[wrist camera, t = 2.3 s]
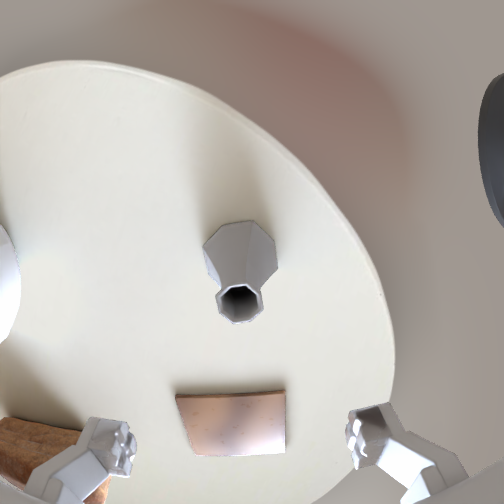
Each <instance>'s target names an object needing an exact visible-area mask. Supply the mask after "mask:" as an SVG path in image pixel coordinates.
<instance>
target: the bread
mask: <svg viewBox="0 0 504 504" xmlns="http://www.w3.org/2000/svg"><path fill="white" fill-rule="evenodd" d="M81 433H82V432H80V431H76V430H68V429H62V428H57V427H52V426H48V425H45V424H41V423H34V422H28V421H24V420H20V419H17V418H13V417H4V418H3V419H2V420H1V421H0V475H1V476H2V477H3V478H5V479H6V480H8V481H9V482H10V483H11V484H13V485H14V486H16V487H18V488H19V489H21V490H24V488H25V486H26V484H27V482H28V480H29V478H30V475H31V473H32V471H33V469H35V468H37V467H38V466H40V465H42V464H43V463H45V462H46V461H48V460H50V459H51V458H53V457H54V456H56V455H58V454H59V453H61V452H62V451H64V450H65V449H67V448H68V447H70V446H71V445H76V443H77V441H78V439H79V437H80V435H81ZM111 477H112V475H110V476H109V477H108V478H107V479H106V480H105V481H104V482H103V483H102V484H101V485H99V486H98V487H97V488H96V489H95V490H94V491H93V492H92V493H91V494H90V495H89V496H88V497H87V498H85V499H84V500H83V501H82V502H83V503H84V504H104V502H105V500H106V497H107V491H108V487H109V484H110V480H111Z"/></svg>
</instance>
